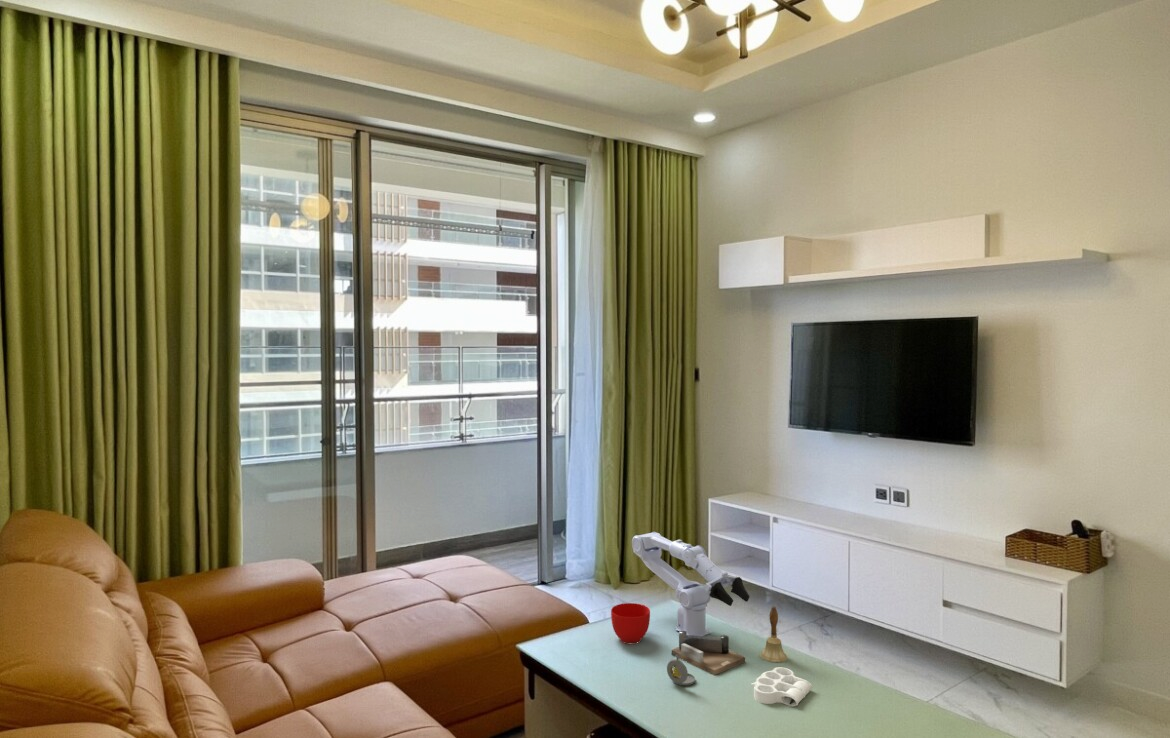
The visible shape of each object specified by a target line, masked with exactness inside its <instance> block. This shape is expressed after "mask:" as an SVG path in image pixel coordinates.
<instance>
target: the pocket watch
mask: <svg viewBox="0 0 1170 738" xmlns="http://www.w3.org/2000/svg"><path fill="white" fill-rule="evenodd" d="M674 653H675V652H673V654H674ZM676 653H678V652H676ZM678 654H679V653H678ZM678 654H677V655H675V654H674V655H675V656H674V655H673V656H674V657H675V658H673V659H671V660H669V661H668V663H667V665H666V672H667V675H668V677H669V679H671V681H672V682H674V684H676V685H680V686H690V685H692V684H694V683H695V681H696V677H695V675H693V674H692V673H688V672H689V671H688V669H687V666H686V665H685V664H684V663H683V661H681V660H680V658H679V657H681V655H680V654H679V655H680V656H678Z"/></svg>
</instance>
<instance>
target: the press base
mask: <svg viewBox="0 0 1170 738" xmlns="http://www.w3.org/2000/svg"><path fill="white" fill-rule="evenodd" d="M673 652H675V653H674V654H675V655H677V654H678V653H679V654H680V655H681V657H679V658H678V659H680V658H681V660H682V659H683V660H682V661H684V662H686V661H687V662H686V663H688V664H690V663H691V665H692V666H695V667H697V668H698V669H701V670H703V671H705V672H707V673H709V674H711V675H713V676H716V675H719V674H721V673H723V672H725V671H728V670H730V669H732V668H734V667H737V666H739V664H740V665H742V664H744V663H746V657H745V656H743V655H742V654H739V653H737V652H734V651H732V650H730V649H729V653H727V654H723V653H715V652H704V651H700V650H698V649H696V648H694V647H691V646H689V645H687V644H685V643H683V644H681V650H680V649H679V646H678V647H675V648H673V649H671V655H672V654H673ZM676 652H678V653H676ZM674 654H673V655H672V656H674ZM679 654H678V656H680V655H679Z"/></svg>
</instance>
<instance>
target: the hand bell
mask: <svg viewBox="0 0 1170 738" xmlns="http://www.w3.org/2000/svg"><path fill="white" fill-rule="evenodd" d="M778 620H779V613H778V610H777V607H776V606H775V605H772V606H771V608H770V612H769V623H770V636H769V637H767V638H766V642H765V647H764V648H763V650H762V651H760V653H759V656H760V658H761V659H762V660H764V661H766V660H767V661H766V662H770V663H783V662H786V661H787V660H788V655H787V654H786V653H785V652H784V649H783V645H782V640H781V639H780V638H779V637H777V632H778V631H777V625H778V622H779V621H778Z"/></svg>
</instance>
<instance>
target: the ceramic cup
mask: <svg viewBox="0 0 1170 738" xmlns="http://www.w3.org/2000/svg"><path fill="white" fill-rule="evenodd" d="M610 617H611V626H612V629H613V632H614V633H615V635H616V636H617V638H619V640H620V641H621V642H622V643H624V642H625V643H624V644H627V643H635V644H637V642H638V643H640V642H641V640H642V639H644V637H645V636H646V634H647V632H648V630H649V627H650V626H649V625H650V620H651V619H650V618H651V609H650V608H649V607H648V606H646V605H645V604H640V603H633V602H627V603H626V602H624V603H619V604H616V605H614V606H612V608H610ZM639 641H640V642H639Z"/></svg>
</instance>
